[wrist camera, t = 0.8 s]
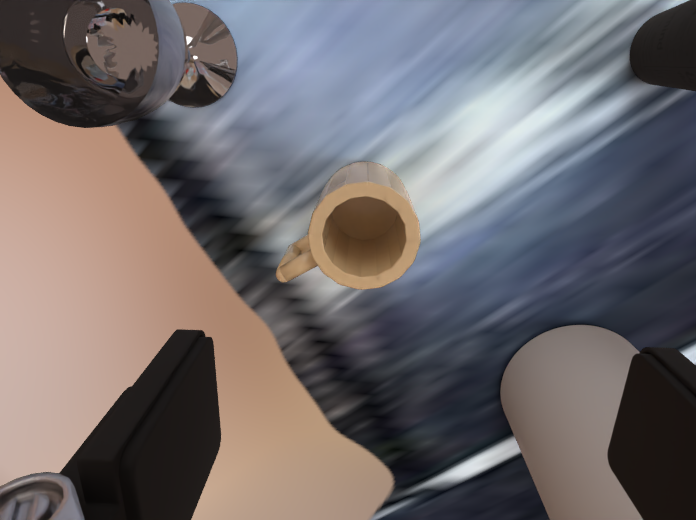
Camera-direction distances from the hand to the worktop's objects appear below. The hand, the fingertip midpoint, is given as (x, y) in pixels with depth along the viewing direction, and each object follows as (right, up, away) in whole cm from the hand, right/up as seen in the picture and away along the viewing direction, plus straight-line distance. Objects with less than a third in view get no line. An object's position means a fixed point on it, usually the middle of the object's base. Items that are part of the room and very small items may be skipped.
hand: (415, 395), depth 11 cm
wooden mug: (-2, +7, +28) cm, 29 cm away
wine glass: (-13, +18, +25) cm, 33 cm away
